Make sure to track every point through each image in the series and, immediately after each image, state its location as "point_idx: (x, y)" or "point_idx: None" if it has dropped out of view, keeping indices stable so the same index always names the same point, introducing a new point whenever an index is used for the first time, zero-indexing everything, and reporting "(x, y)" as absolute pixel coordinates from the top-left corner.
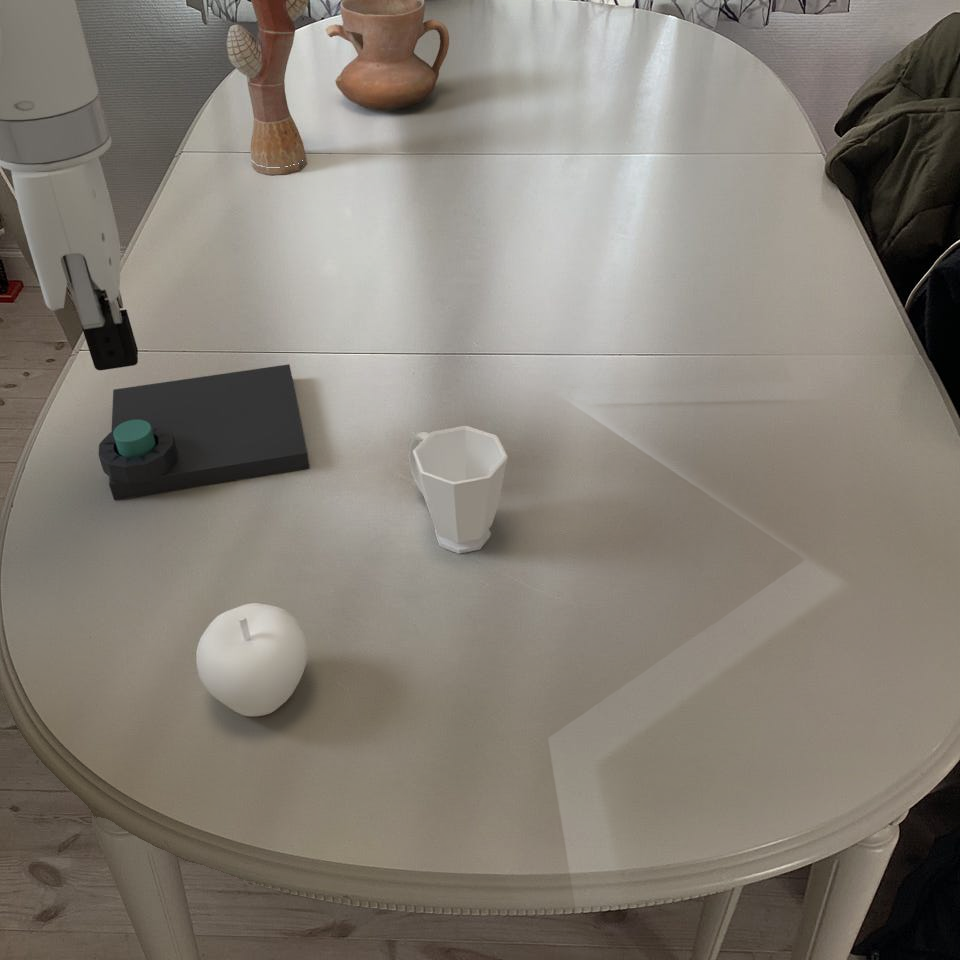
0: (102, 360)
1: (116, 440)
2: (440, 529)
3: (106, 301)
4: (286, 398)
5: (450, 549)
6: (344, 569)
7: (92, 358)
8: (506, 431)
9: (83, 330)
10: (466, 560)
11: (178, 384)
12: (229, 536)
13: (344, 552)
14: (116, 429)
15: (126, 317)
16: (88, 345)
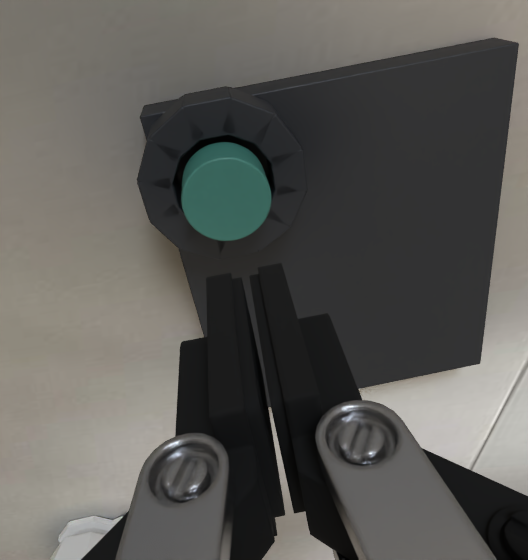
0: (181, 345)
1: (193, 168)
2: (54, 556)
3: (337, 540)
4: (379, 373)
5: (63, 530)
6: (11, 450)
7: (209, 301)
8: (280, 549)
9: (211, 396)
10: (49, 539)
11: (484, 193)
12: (58, 318)
13: (45, 446)
14: (231, 164)
15: (276, 530)
16: (207, 342)
